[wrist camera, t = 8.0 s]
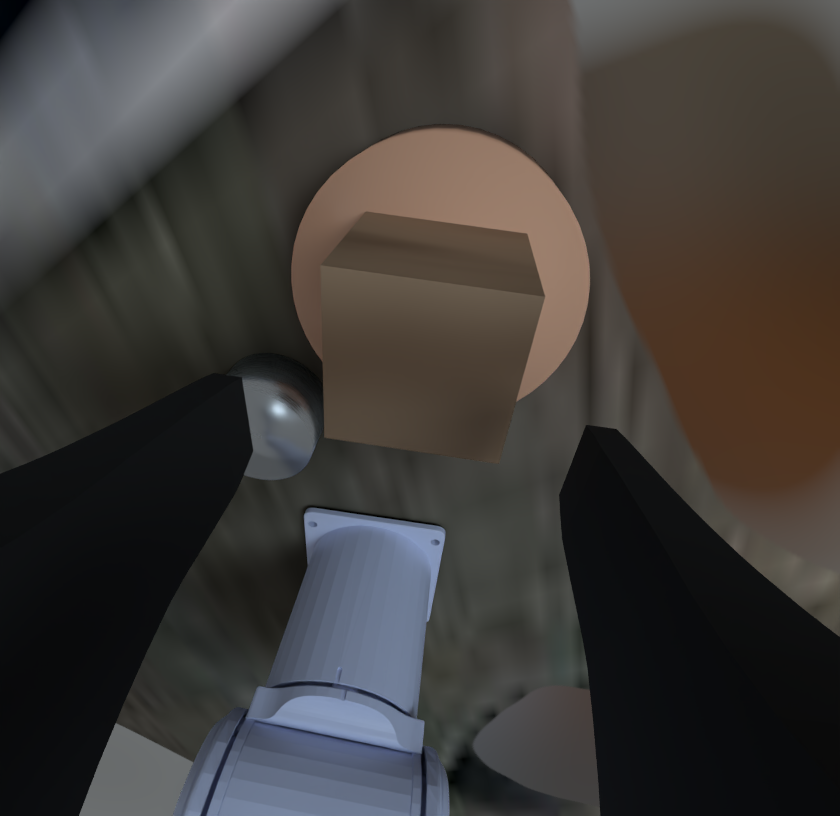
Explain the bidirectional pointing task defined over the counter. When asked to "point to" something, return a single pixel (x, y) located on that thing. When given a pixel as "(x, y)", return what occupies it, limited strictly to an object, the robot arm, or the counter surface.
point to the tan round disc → (454, 221)
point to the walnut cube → (427, 334)
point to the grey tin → (280, 414)
